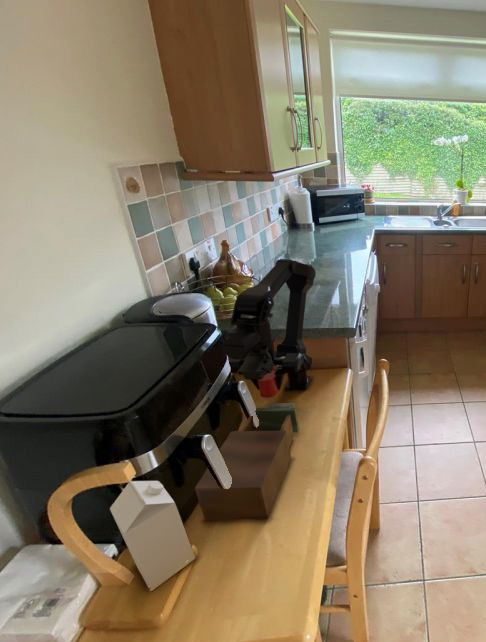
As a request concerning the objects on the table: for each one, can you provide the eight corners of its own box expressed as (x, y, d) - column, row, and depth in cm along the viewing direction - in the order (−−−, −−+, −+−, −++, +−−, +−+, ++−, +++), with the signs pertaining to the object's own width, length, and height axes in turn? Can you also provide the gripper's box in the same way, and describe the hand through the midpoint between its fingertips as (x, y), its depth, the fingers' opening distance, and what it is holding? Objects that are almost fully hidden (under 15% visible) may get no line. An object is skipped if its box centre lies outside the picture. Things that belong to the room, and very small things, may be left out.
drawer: (262, 418, 102) (258, 396, 99) (304, 417, 103) (301, 396, 100) (230, 475, 85) (224, 451, 82) (281, 474, 85) (276, 450, 82)
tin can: (264, 386, 104) (261, 370, 102) (282, 386, 104) (279, 370, 102) (257, 397, 100) (253, 380, 97) (276, 397, 100) (273, 380, 98)
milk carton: (151, 592, 63) (115, 516, 56) (136, 566, 67) (101, 491, 60) (195, 559, 69) (168, 485, 61) (179, 536, 72) (152, 463, 65)
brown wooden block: (238, 460, 90) (231, 431, 86) (291, 459, 90) (286, 430, 87) (205, 520, 76) (194, 488, 72) (268, 519, 76) (260, 487, 72)
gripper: (206, 355, 87) (220, 408, 94) (287, 355, 88) (295, 408, 95) (228, 333, 98) (239, 382, 104) (300, 333, 99) (307, 382, 105)
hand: (269, 389), depth 102 cm, fingers closed on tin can, 5 cm apart
